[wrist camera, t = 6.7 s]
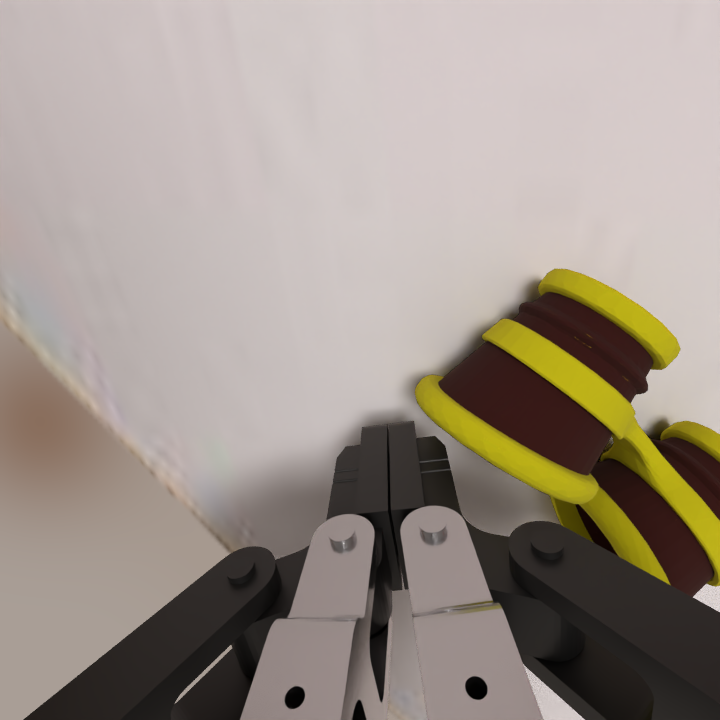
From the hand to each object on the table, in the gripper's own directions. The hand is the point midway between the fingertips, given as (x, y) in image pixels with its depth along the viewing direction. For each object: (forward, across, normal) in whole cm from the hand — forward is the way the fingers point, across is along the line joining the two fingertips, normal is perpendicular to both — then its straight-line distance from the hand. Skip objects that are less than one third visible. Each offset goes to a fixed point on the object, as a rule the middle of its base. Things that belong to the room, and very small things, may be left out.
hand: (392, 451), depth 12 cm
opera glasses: (+2, -6, +1) cm, 6 cm away
